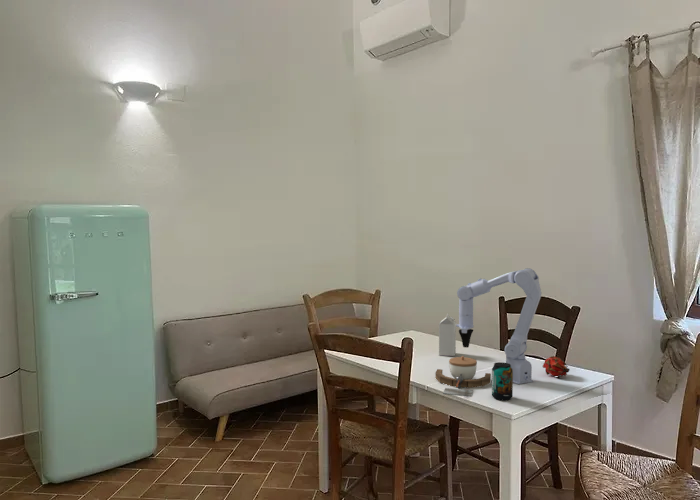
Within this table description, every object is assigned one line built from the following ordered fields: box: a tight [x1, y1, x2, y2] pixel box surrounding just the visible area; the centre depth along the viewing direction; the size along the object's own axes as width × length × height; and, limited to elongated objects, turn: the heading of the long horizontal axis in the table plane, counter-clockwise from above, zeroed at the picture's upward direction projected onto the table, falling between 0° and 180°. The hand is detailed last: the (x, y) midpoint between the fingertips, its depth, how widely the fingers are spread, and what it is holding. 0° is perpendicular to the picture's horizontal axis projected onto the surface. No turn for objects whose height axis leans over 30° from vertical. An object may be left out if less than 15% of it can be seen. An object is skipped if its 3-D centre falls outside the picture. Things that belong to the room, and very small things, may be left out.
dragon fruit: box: [542, 355, 571, 377], centre depth 210 cm, size 8×8×12 cm
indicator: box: [456, 374, 463, 388], centre depth 194 cm, size 15×2×2 cm, turn 162°
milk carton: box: [438, 313, 457, 357], centre depth 246 cm, size 7×7×19 cm
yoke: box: [434, 368, 492, 397], centre depth 199 cm, size 23×21×2 cm
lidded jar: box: [448, 355, 478, 380], centre depth 206 cm, size 11×11×9 cm
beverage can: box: [491, 361, 513, 401], centre depth 184 cm, size 7×7×12 cm
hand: (465, 347), depth 217 cm, fingers closed
